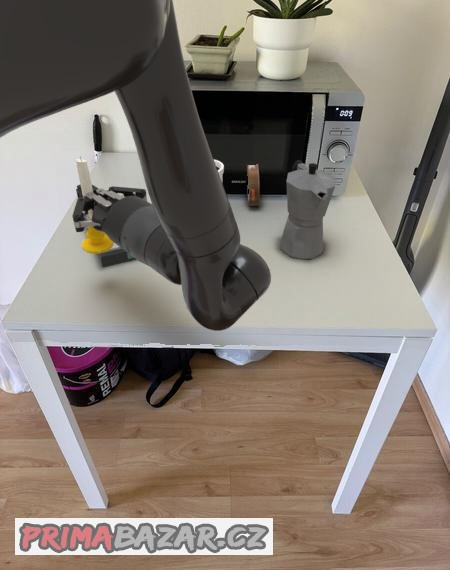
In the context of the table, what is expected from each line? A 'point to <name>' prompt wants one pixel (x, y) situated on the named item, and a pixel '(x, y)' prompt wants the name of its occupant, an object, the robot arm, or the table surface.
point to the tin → (253, 185)
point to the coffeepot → (306, 210)
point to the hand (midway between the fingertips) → (82, 189)
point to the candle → (95, 239)
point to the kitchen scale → (114, 256)
